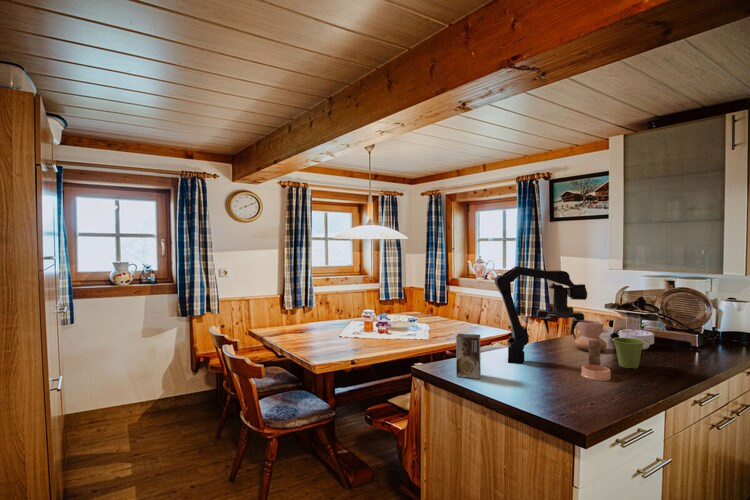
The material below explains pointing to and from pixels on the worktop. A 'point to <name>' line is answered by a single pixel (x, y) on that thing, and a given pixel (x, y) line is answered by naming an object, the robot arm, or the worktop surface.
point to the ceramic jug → (589, 334)
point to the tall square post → (594, 353)
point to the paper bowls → (638, 336)
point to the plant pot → (628, 351)
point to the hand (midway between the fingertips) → (559, 334)
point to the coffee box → (468, 355)
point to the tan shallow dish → (596, 372)
